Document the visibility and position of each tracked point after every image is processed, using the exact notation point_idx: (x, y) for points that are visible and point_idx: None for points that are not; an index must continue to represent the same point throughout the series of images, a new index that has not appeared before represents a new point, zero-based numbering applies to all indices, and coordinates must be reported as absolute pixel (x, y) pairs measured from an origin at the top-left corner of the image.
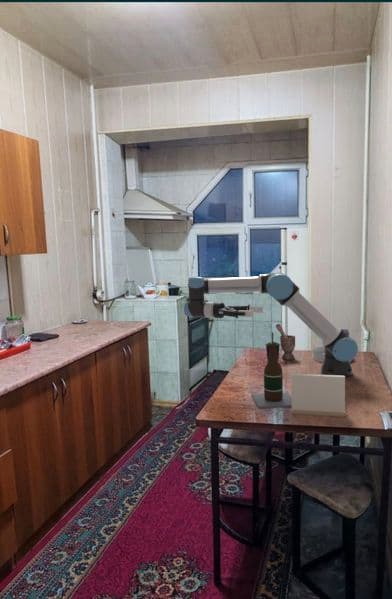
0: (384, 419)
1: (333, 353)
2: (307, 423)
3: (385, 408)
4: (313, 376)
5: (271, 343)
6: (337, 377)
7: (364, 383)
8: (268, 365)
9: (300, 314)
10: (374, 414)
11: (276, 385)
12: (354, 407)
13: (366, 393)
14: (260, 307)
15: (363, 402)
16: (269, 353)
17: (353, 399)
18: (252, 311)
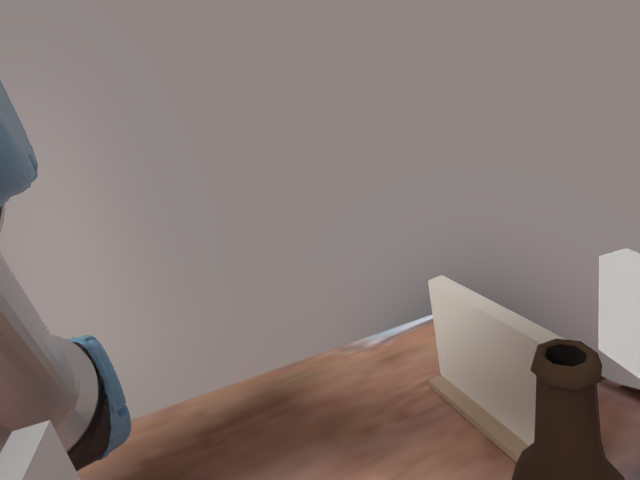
0: (407, 325)
1: (117, 430)
2: (606, 395)
3: (335, 349)
4: (513, 313)
5: (564, 365)
6: (456, 284)
7: (119, 469)
8: (615, 473)
9: (13, 328)
10: (392, 345)
11: None
12: (377, 387)
13: (233, 420)
14: (42, 462)
15: (321, 391)
16: (597, 415)
17: (311, 417)
18: (621, 259)
